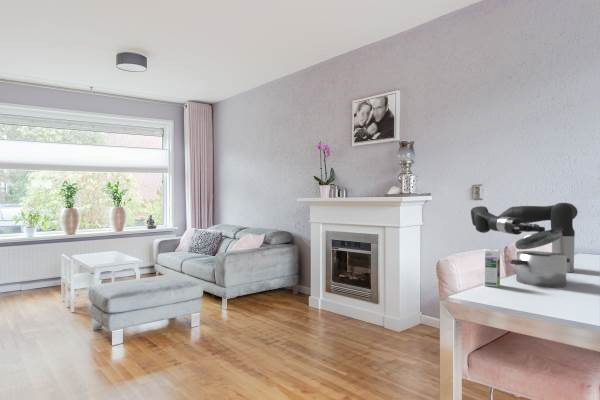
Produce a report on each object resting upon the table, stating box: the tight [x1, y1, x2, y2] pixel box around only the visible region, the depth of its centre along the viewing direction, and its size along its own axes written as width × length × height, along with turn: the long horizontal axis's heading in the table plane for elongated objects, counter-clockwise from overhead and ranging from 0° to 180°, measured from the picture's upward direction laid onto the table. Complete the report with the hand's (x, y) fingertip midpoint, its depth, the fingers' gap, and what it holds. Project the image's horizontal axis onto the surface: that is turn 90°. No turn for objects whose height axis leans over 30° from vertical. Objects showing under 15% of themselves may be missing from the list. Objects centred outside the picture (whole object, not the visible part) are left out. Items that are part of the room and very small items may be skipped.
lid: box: [514, 228, 563, 250], centre depth 170 cm, size 20×18×1 cm
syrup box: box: [483, 248, 501, 288], centre depth 163 cm, size 6×6×14 cm
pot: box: [510, 250, 570, 288], centre depth 169 cm, size 18×28×12 cm, turn 107°
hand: (543, 229), depth 169 cm, fingers closed
